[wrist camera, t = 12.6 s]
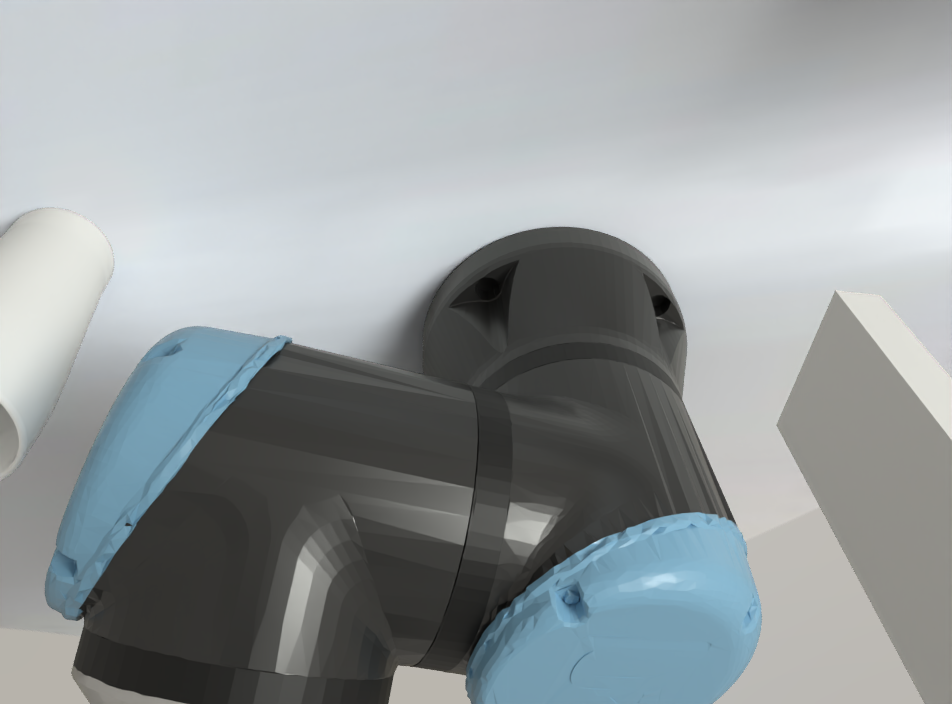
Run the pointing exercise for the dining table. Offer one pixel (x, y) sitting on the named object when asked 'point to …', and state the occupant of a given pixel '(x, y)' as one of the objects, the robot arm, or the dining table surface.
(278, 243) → the dining table surface
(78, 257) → the drinking glass
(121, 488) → the robot arm
